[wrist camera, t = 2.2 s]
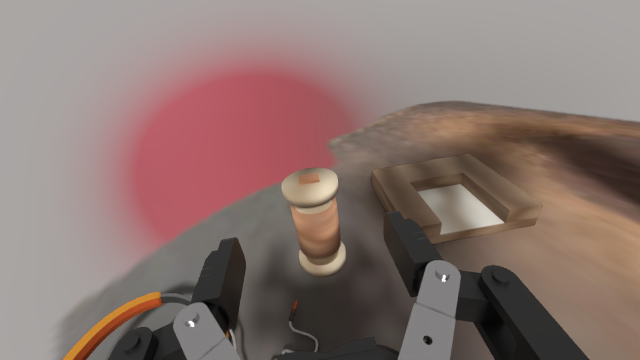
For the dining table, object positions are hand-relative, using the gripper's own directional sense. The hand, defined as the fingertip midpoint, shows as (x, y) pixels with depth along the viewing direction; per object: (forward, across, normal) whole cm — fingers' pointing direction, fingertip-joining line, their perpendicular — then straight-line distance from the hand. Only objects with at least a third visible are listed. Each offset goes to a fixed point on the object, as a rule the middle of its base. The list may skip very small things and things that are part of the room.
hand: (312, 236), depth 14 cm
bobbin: (+12, 0, +14) cm, 18 cm away
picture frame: (+17, -18, +14) cm, 29 cm away
